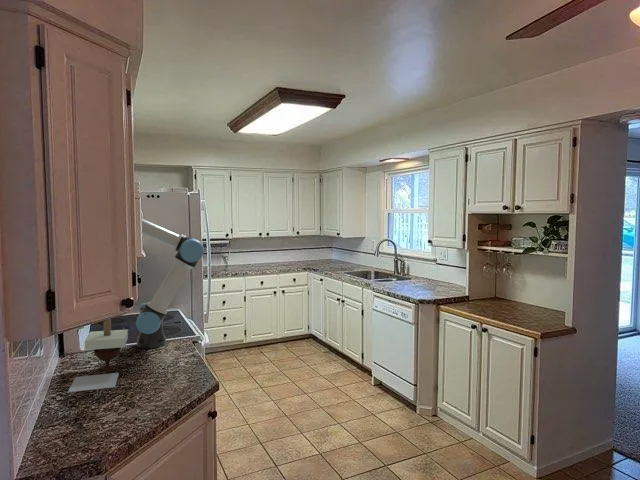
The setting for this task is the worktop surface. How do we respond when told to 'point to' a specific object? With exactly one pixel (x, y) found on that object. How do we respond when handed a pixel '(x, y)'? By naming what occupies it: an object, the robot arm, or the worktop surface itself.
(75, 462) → the worktop surface
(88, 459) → the worktop surface
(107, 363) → the ice cream bowl
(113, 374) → the mat
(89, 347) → the white knobbed square piece
